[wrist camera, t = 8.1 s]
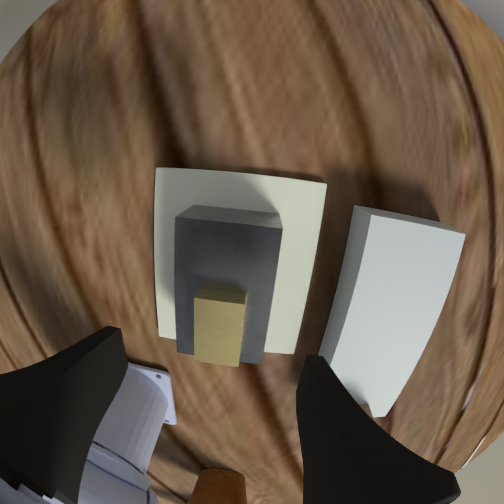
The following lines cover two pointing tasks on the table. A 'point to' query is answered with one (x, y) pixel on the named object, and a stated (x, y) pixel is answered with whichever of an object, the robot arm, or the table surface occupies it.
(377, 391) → the white rectangular block
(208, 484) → the disposable coffee cup
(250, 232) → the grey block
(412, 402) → the table surface
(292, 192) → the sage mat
